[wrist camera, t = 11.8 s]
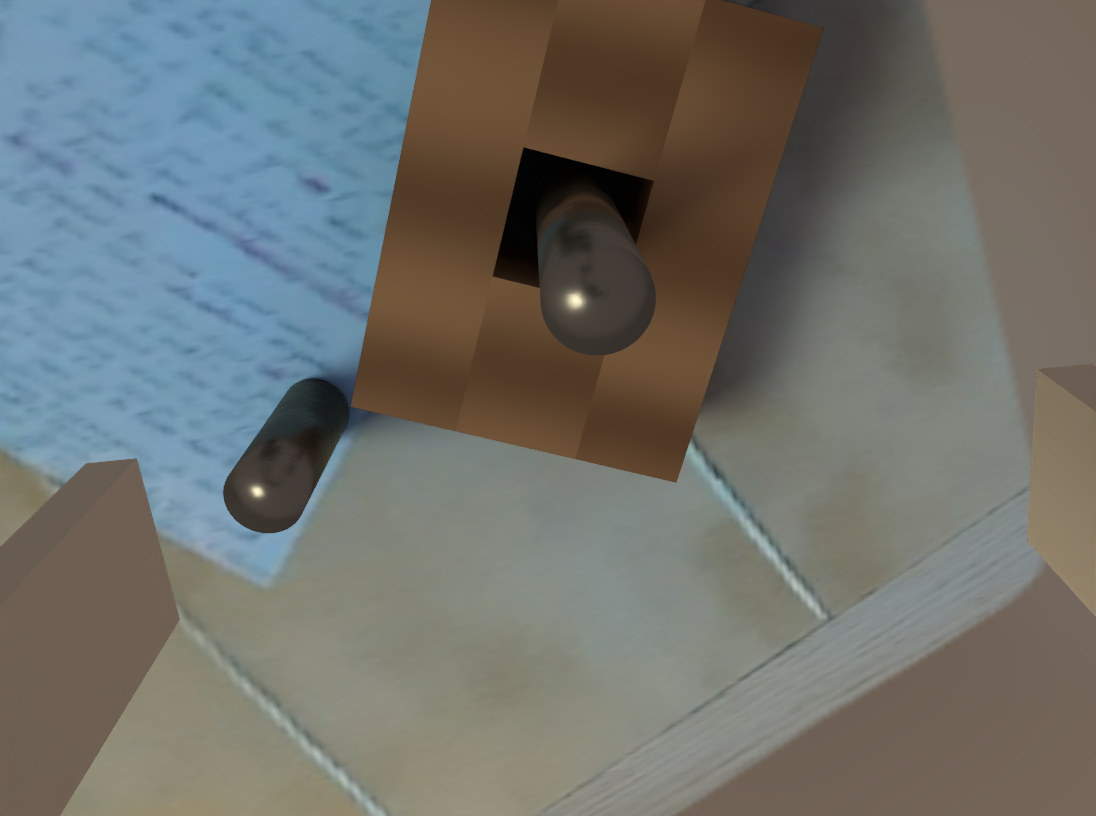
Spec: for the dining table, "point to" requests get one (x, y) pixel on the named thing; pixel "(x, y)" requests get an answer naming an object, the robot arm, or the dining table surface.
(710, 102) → the hole block
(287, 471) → the short pin
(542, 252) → the long pin
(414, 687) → the dining table surface
